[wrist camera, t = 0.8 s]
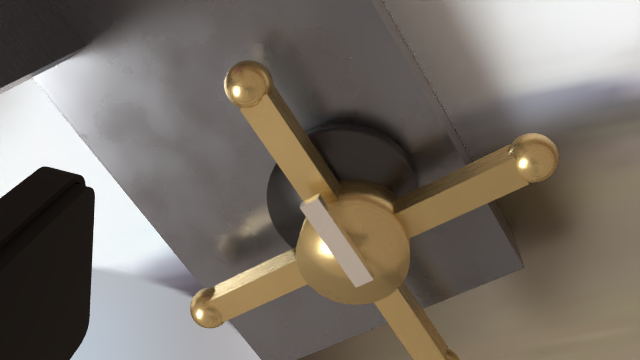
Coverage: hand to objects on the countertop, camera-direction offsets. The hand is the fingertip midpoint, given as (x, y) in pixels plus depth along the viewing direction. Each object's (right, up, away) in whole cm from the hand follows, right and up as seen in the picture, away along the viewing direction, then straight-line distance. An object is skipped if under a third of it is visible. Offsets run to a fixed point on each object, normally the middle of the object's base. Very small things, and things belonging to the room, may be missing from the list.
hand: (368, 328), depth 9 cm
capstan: (+1, +1, +17) cm, 17 cm away
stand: (-3, +5, +19) cm, 20 cm away
